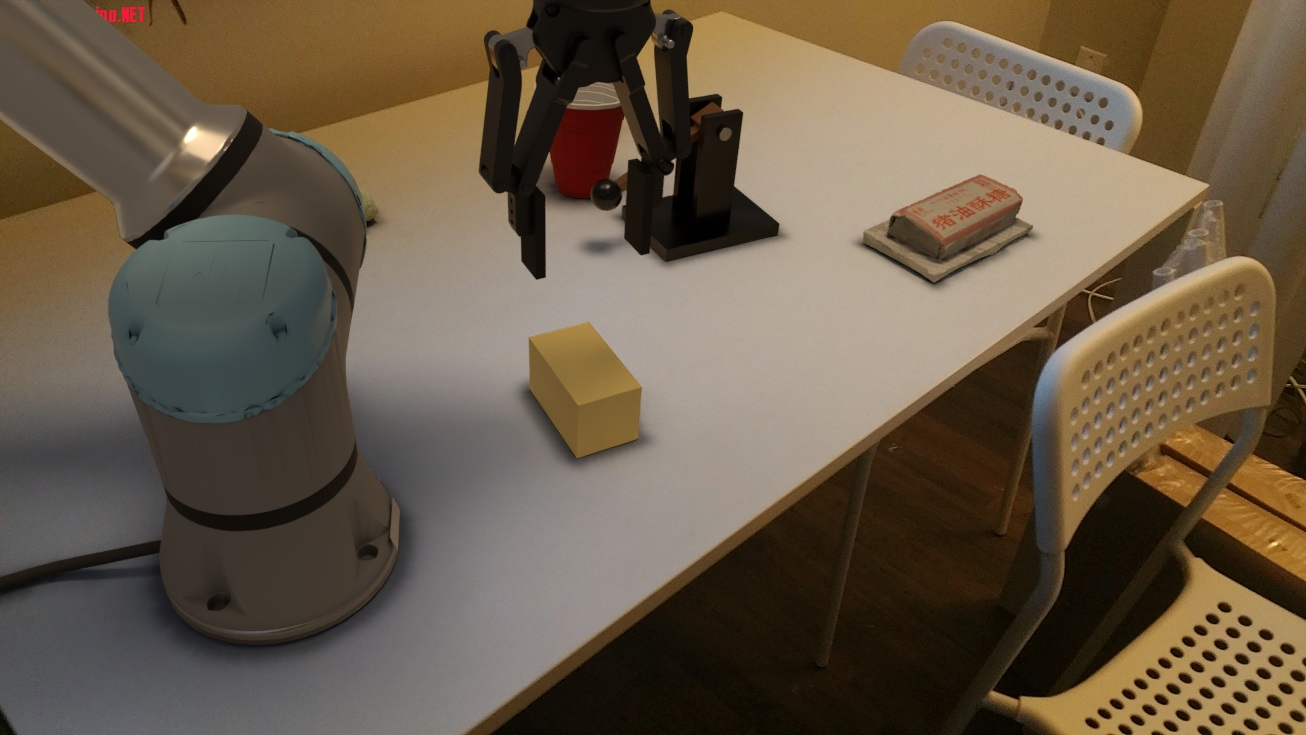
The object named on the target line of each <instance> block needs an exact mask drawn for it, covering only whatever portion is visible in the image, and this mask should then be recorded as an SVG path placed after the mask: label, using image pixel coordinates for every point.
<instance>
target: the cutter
mask: <svg viewBox="0 0 1306 735" xmlns="http://www.w3.org/2000/svg"><path fill="white" fill-rule="evenodd" d="M711 102H713V103H715V104H716V105H717V106H719V107H720V108H721V109H722V104H723V96H722V95H720V94H719V93H713V94H712V93H711V94H708V95H701V96H695V97H694V96H693V97H689V107H690V125H691V127H692V126H694V124H693V122H692V120H691V116H693V115H694V114H695V113H697V112H698V111H700V110H701V109H703V108H704V107H706V106H707V105H708V104H710V103H711ZM743 119H744V111H742V110H741V109H740V108H735V109H728V110H724V111H722V112H716V113H710V114H704V115H701V123H700V133H699V139H698V140H697V141H695V142H694V143H692V150H691V153H690V155H689V156H688V157H686V158H683V159H682V158H679V157H678V158H676V159H675V165H674V179H673V180H674V181H673V191H672V194H671V195H665V196H663V199H662V202H661V205H660V207H657V208H653V214H652V228H651V242H650V248H652V249H653V250H655V252H656V253H657V254H658V255H659V256H660V257H661V258H662V259H663V260H664V261H665V262H669V261H674V260H677V259H682V258H687V257H690V256H695V255H698V254H702V253H707V252H711V251H715V250H719V249H724V248H728V247H733V246H736V245H740V244H741V245H742V244H744V243H749V242H754V241H757V240H762V239H766V238H769V237H774V236H778V235H779V231H780V225H781V224H780V223H779V222H778V221H777V219H775V218H773V217H772V216H771V215H770V214H768V212H767V211H765V210H764V209H762V207H760V206H759V205H758V204H757V203H756V202H754V201H753V200H752V199H751V198H749V197H748V196H747V195H746V194H744V193H743V192H742V191H741V190H740V189H738V188H737V187H736V186H735V183H736V175H737V166H738V160H739V153H740V152H739V151H740V143H741V134H742V128H743ZM625 211H626V204H623V205H621V217H622V218H623V220H625Z"/></svg>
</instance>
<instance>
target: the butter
mask: <svg viewBox="0 0 1306 735" xmlns="http://www.w3.org/2000/svg"><path fill="white" fill-rule="evenodd" d="M528 371H529V372H528V374H529V379H528V380H529V390H530V392H531V393H532V395H533V396H534V397H535V399H536V400H537V402H538V403H539V405H540V407H541V408H542V410H543V411H544V412H545V413H546V415H547V417H548V418H549V419H550V421H551V422H552V424H553V425H554V427H555V428H556V429H557V432H558V433H559V435H560V436H561V437H562V439H563V440H564V442H565V443H566V444H567V446H568V447H569V449H570V450H571V452H572V453H573V455H574V456H575V458H576V459H579V458H583V457H585V456H586V457H587V456H588V455H589V456H590V455H592V454H595V453H599V452H601V451H605V450H608V449H611V448H613V447H617V446H620V445H624V444H627V443H629V442H633V441H636V440H639V434H640V433H639V431H640V418H641V417H640V416H641V405H642V390H643V387H642V385H641V384H640V383H639V382H638V381H639V380H637V379H636V377H634V375H633V374H632V373H631V372H630V370H629V369H628V368H627V367H626V365H625V364H624V363H623V361H622V360H621V359H620V358H619V357H618V356H617V354H616V353H615V352H614V350H613V349H612V348H611V347H610V345H609V344H608V343H607V342H606V341H605V340H604V338H603V337H602V336H601V334H600V333H599V332H598V331H597V330H596V328H595V327H594V326H593V324H591V322H590V321H586V322H583V323H578V324H574V325H570V326H567V327H563V328H560V329H556V330H551V331H548V332H544V333H543V332H542V333H539V334H536V335H532V336H528Z"/></svg>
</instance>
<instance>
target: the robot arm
mask: <svg viewBox="0 0 1306 735" xmlns="http://www.w3.org/2000/svg"><path fill="white" fill-rule="evenodd" d="M528 16H529V17H528V18H527V20H526V23H525V27H522V28H518V29H516V30H512V31H510V32H507V33H504V34H501V32H499V31H498V30H495V29H493V30H492V29H491V30H489V31H487V32H486V33H485V35H484V37H483V46H484V49H485V54H486V58H487V61H488V62H487V63H488V66H489V72H488V81H487V89H486V90H487V92H486V100H485V109H484V119H483V127H482V135H481V143H480V144H481V146H480V153H479V154H480V155H479V164H478V174H479V175H480V177H481V178H482V179H483V180H484V182H485V183H486V184H487V185H488V187H489V188H490V189H491V190H492V192H494V193H495V194H497V195H501V194H504V193H507V222H508V224H509V226H510V228H511V229H512V230H513V231H514V233H515V234H516V235H517V237H518V238H520V261H521V263H522V265H524V267H526V269H527V270H528V272H529V273H530V274H531V275H532V277H533V278H534V279H535V280H536V281H538V280H543V279H546V278H547V242H546V241H547V239H546V238H547V235H546V234H547V226H546V225H547V223H546V222H547V220H546V218H547V217H546V216H547V215H546V213H547V212H546V202H547V201H546V194H544V192H543V191H542V190H541V189H540V188H539V187H538V186H537V185H538V182H539V180H540V177H541V174H542V172H543V169H544V167H545V164H546V162H547V159H548V156H549V155H550V152H549V151H550V149H551V146H552V144H553V141H554V139H555V136H556V133H557V131H558V128H559V126H560V123H561V120H562V118H563V115H564V113H565V110H566V108H567V106H568V105H569V104H571V103H572V102H573V101H574V99H575V96H576V93H577V91H578V88H581V87H587V86H589V85H592V84H594V83H596V82H602V83H613V85H614V88H615V91H616V93H617V96H618V99H619V102H620V104H621V107H622V110H623V112H624V115H625V116H624V119H625V121H626V123H627V126H628V129H629V132H630V134H631V136H632V139H633V142H634V145H635V147H636V150H637V152H638V154H639V156H640V159H639V158H638V157H637V158H631V159H628V160H627V172H628V173H627V190H626V191H625V192H626V195H625V205H626V211H625V219H624V232H623V233H624V234H623V235H624V236H623V239H624V240H625V241H626V242H627V243H628V244H629V245H630V246H631V247H632V248H633V249H634V250H635V252H636V253H637V254H638V255H640V256H645V255H650V254H651V246H650V242H651V228H652V214H653V208H657V207H660V205H661V202H662V199H663V197H664V188H665V187H664V185H665V177H668V176H670V175H671V174H672V173H673V172H674V171H675V163H674V162H673V161H674V160H676V158H678V157H679V158H682V159H683V158H686V157H688V156H689V155H690V153H691V150H692V144H691V125H690V107H689V98H690V92H689V90H690V89H689V72H688V54H689V50H690V46H691V41H692V37H693V33H694V24H693V23H692V22H691V21H690V20H688V19H686V18H685V17H684V16H682V15H681V14H679V13H677V12H676V11H675V10H673V9H670V8H669V9H665V10H663V11H662V12H661V13H658V12H654V10H653V7H652V1H651V0H532V8H531V11H530V14H529V15H528ZM650 38H651V42H652V44H653V45H654V46H653V59H654V70H655V85H656V99H657V111H658V123H659V124H658V123H657V120H656V117H655V115H654V112H653V109H652V106H651V103H650V100H649V97H648V94H647V91H646V88H645V86H646V81H645V78H644V75H643V72H642V68H641V66H640V63H639V60H638V56H639V55H640V53H641V52H642V51H643V49H644V47H645V45H647V42H649V40H650ZM533 49H535V50H536V52H537V53H538V54H539V56H540V57H541V58H542V59H541V61H540V63H539V67H538V69H537V73H536V75H535V83H536V89H535V92H533V94H532V97H531V100H530V103H529V105H528V108H527V110H526V112H525V116H524V119H523V121H522V124H521V127H520V130H519V132H518V135H517V129H518V122H519V115H520V114H519V112H520V105H521V97H522V90H523V89H522V88H523V75H522V74H523V73H522V70H525V69H527V67H528V59H529V58H528V56H529V53H530V52H531V51H532V50H533ZM558 77H559V78H560V80H558ZM0 121H1V122H2V123H4V124H5V125H7V126H8V127H10V128H11V129H12V130H14V131H15V132H16V133H17V134H19V135H20V136H21V137H23V138H24V139H26V140H27V141H28V142H29V143H31V144H32V145H34V147H36V148H38V149H39V150H40V151H42V152H43V153H44V154H46V155H47V156H48V157H50V158H51V159H53V160H54V161H55V162H56V163H58V164H59V165H61V166H62V167H63V168H65V169H66V170H67V171H69V172H70V173H72V174H73V175H74V176H76V177H77V178H78V179H80V180H81V181H82V182H84V183H85V184H86V185H87V186H89V187H90V188H91V189H93V190H94V191H96V192H97V193H98V194H100V195H101V196H102V197H104V198H105V199H107V200H108V202H110V204H111V205H112V207H113V210H114V215H115V220H116V221H115V222H116V226H117V233H118V237H119V239H121V240H122V241H123V242H125V243H126V244H127V245H129V246H130V247H131V248H133V249H135V250H134V251H133V252H132V253H131V254H130V256H128V258H127V259H125V261H124V262H123V263H122V265H121V266H120V267H119V269H118V271H117V272H116V274H115V276H114V279H113V280H112V283H111V286H110V290H109V293H108V297H107V298H108V299H107V315H108V317H107V318H108V322H109V326H110V329H111V332H110V338H111V340H112V343H113V345H112V346H113V356H114V360H115V361H116V363H117V366H118V367H117V368H118V369H119V371H120V373H121V374H122V378H123V380H124V381H125V383H126V385H127V389H128V390H129V394H130V397H131V398H132V399H131V400H132V401H133V405H134V407H135V411H136V413H137V416H138V419H139V422H140V426H141V428H142V430H143V433H144V435H145V439H146V441H147V444H148V447H149V450H150V452H151V455H152V458H153V461H154V464H155V467H156V469H157V473H158V475H159V478H160V480H161V483H162V486H163V489H164V492H165V495H166V502H165V509H164V517H163V523H162V524H163V525H162V531H161V537H160V538H161V539H157V540H153V541H147V542H142V543H136V544H133V545H127V546H122V547H117V548H113V549H107V550H103V551H98V552H93V553H88V554H83V555H77V556H74V557H68V558H64V559H59V560H55V561H51V562H47V563H43V564H39V565H35V566H33V567H32V566H31V567H28V568H25V569H22V570H18V571H15V572H12V573H8V574H6V575H1V576H0V592H1V591H5V590H8V589H11V588H14V587H17V586H20V585H24V584H27V583H30V582H31V583H32V582H34V581H38V580H40V579H45V578H48V577H52V576H56V575H60V574H65V573H69V572H73V571H78V570H82V569H88V568H92V567H98V566H103V565H107V564H108V565H109V564H113V563H117V562H122V561H127V560H132V559H137V558H142V557H147V556H152V555H156V554H159V558H158V560H159V568H160V578H161V582H162V584H163V588H164V590H165V594H166V596H167V598H168V600H169V603H170V606H171V608H172V609H173V610H174V611H175V613H176V614H177V616H179V618H180V619H181V620H182V621H183V622H184V623H185V624H187V625H188V626H189V627H191V628H192V629H194V630H195V631H197V632H198V633H200V634H203V635H205V636H207V637H209V638H212V639H214V640H218V641H222V642H226V643H232V644H238V645H246V646H247V645H249V646H258V645H259V646H261V645H262V646H263V645H276V644H281V643H282V644H283V643H287V642H293V641H296V640H301V639H304V638H307V637H309V636H313V635H315V634H318V633H320V632H323V631H326V630H327V629H329V628H332V627H334V626H335V625H337V624H339V623H341V622H343V621H344V620H346V619H347V618H349V617H351V616H352V615H354V614H355V613H356V612H357V611H359V610H360V609H362V607H364V606H365V605H366V604H367V603H369V601H370V600H371V599H373V598H374V596H375V595H376V594H377V593H378V592H379V591H380V589H381V588H382V587H383V586H384V585H385V583H386V581H387V580H388V578H389V577H390V574H391V573H392V571H393V568H394V567H395V563H396V561H397V560H396V559H397V558H398V552H399V547H400V535H399V534H400V533H399V531H400V518H401V517H400V516H401V515H400V514H401V509H400V507H399V505H398V503H397V502H396V499H395V498H394V497H392V501H391V497H390V495H389V494H388V492H387V490H386V488H385V487H384V485H383V484H382V483H381V481H380V480H379V478H378V477H377V475H376V474H375V472H374V471H373V469H372V468H371V467H370V465H369V464H368V462H367V461H366V459H365V458H364V456H363V455H362V454H361V452H360V450H359V449H358V445H357V444H358V443H357V439H356V432H355V431H356V430H355V425H354V420H353V414H352V407H351V401H350V394H349V389H348V382H347V381H348V380H347V353H348V345H349V341H350V340H349V339H350V333H351V332H350V331H351V326H352V319H353V313H354V309H355V308H354V307H355V301H356V296H357V290H358V282H359V277H360V276H359V275H360V270H361V269H362V266H363V263H364V259H365V257H366V256H365V255H366V252H367V245H368V238H367V235H368V230H367V229H368V228H367V221H366V220H365V208H364V203H363V199H362V195H361V192H360V190H359V189H360V188H359V185H358V183H357V181H356V180H355V177H354V175H353V174H352V172H351V171H350V170H349V168H348V167H347V165H346V164H345V163H344V162H343V161H342V160H341V159H340V158H339V157H338V156H337V155H336V154H335V153H334V152H332V150H330V149H329V148H328V147H327V146H325V145H323V144H322V143H320V142H318V141H317V140H315V139H313V138H311V137H309V136H307V135H305V134H302V133H299V132H296V131H293V130H290V131H281V130H277V129H275V128H268V127H267V126H266V125H265V124H264V123H262V121H260V120H259V119H258V118H257V117H256V116H255V115H253V114H252V113H251V112H250V111H249V110H247V109H246V108H245V107H243V106H242V105H240V104H209V103H205V102H203V101H202V100H201V99H199V98H198V97H197V96H196V95H195V94H194V93H192V92H191V91H190V90H189V89H188V88H186V87H185V86H184V85H183V84H182V83H181V82H180V81H179V80H177V78H175V77H174V76H173V75H171V74H170V73H169V72H167V71H166V69H164V68H163V67H162V66H161V65H160V64H158V63H157V62H156V61H155V60H154V59H153V58H151V57H150V55H148V54H147V53H146V52H144V51H143V50H142V49H141V48H140V47H139V46H137V45H136V44H135V43H134V42H133V41H132V40H130V39H129V38H128V37H127V36H126V35H125V34H123V32H121V31H120V30H119V29H117V28H116V27H115V26H114V25H113V24H112V23H111V22H109V21H108V20H107V19H106V18H105V17H104V16H102V15H101V14H100V13H99V12H97V10H95V9H94V8H93V7H91V5H89V4H88V3H87V2H86V1H85V0H0ZM658 125H659V127H658ZM516 136H517V138H516Z"/></svg>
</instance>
